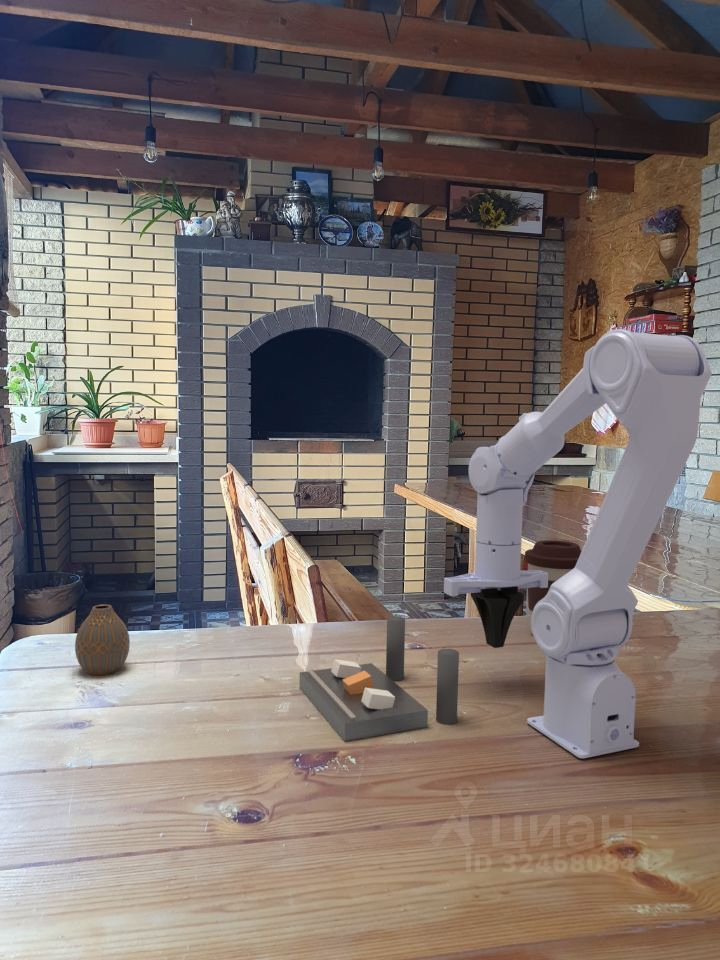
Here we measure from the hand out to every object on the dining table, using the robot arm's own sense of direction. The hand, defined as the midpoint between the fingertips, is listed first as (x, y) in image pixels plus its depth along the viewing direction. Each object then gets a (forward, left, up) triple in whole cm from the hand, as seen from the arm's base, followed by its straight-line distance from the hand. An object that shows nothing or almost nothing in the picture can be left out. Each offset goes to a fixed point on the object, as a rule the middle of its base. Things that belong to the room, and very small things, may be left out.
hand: (494, 645), depth 91 cm
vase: (+23, +47, -6) cm, 53 cm away
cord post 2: (-7, +11, -5) cm, 14 cm away
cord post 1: (+7, +11, -5) cm, 14 cm away
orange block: (0, +19, -3) cm, 19 cm away
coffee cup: (+15, -21, -6) cm, 26 cm away
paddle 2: (-5, +19, -3) cm, 20 cm away
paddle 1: (+5, +19, -3) cm, 20 cm away
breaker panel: (0, +19, -5) cm, 20 cm away
